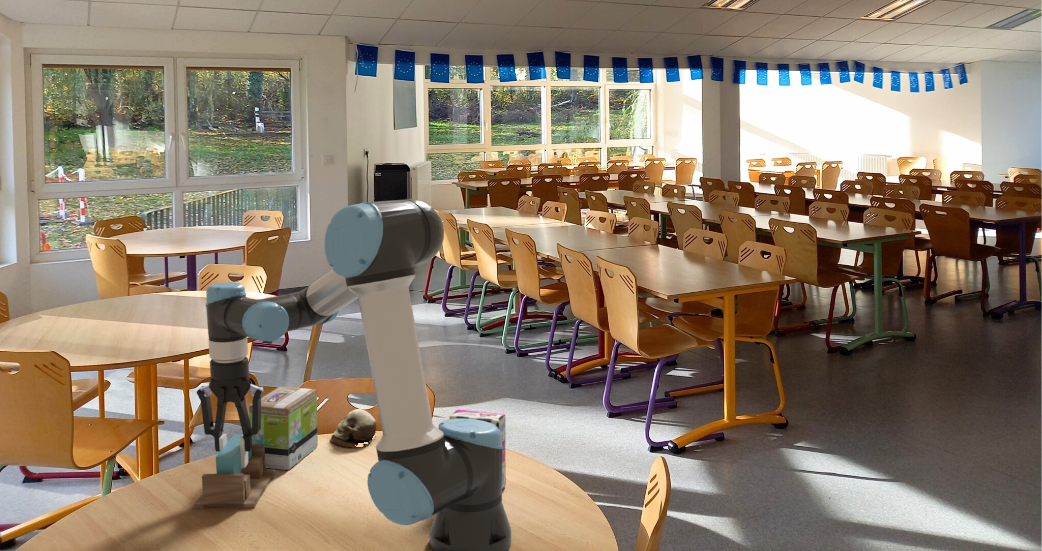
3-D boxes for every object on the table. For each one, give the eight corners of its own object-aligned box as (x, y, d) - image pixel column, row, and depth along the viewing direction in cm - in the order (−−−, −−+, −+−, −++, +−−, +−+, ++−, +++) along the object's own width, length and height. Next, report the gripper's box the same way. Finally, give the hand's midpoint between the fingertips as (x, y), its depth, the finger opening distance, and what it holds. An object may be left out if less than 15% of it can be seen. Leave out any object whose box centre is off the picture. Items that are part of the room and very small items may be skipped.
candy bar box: (506, 486, 184) (506, 413, 181) (498, 495, 179) (499, 421, 176) (457, 479, 187) (457, 407, 184) (449, 488, 182) (448, 415, 180)
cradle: (254, 508, 173) (252, 475, 171) (193, 508, 172) (191, 475, 171) (275, 473, 189) (273, 443, 188) (220, 474, 189) (218, 444, 188)
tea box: (290, 471, 191) (288, 407, 188) (249, 467, 193) (246, 404, 190) (319, 446, 206) (317, 387, 203) (280, 443, 208) (278, 384, 205)
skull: (319, 442, 205) (331, 403, 211) (336, 458, 214) (348, 420, 219) (365, 446, 202) (376, 406, 207) (380, 462, 210) (391, 423, 216)
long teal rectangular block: (234, 480, 174) (233, 456, 173) (217, 480, 174) (215, 456, 173) (252, 455, 187) (251, 433, 186) (235, 455, 187) (234, 433, 186)
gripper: (274, 352, 180) (278, 458, 184) (194, 352, 179) (200, 458, 183) (265, 363, 172) (270, 472, 177) (181, 363, 172) (188, 472, 176)
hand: (234, 465), depth 180 cm, fingers closed on long teal rectangular block, 3 cm apart
